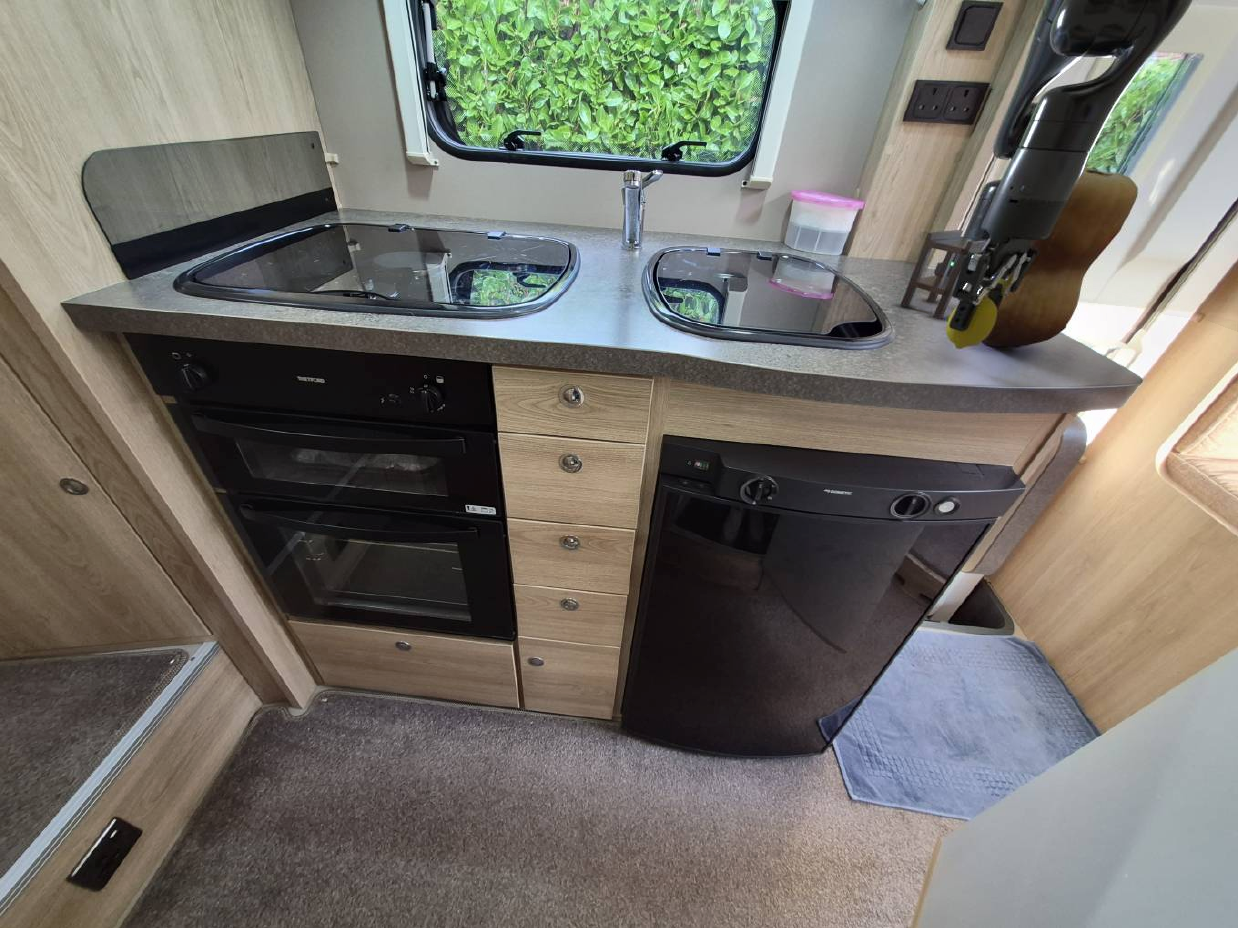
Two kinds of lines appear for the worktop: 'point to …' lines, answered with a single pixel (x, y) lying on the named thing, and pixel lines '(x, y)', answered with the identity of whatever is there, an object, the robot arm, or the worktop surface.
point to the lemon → (975, 325)
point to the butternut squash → (1064, 260)
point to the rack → (941, 268)
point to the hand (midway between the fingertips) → (969, 325)
